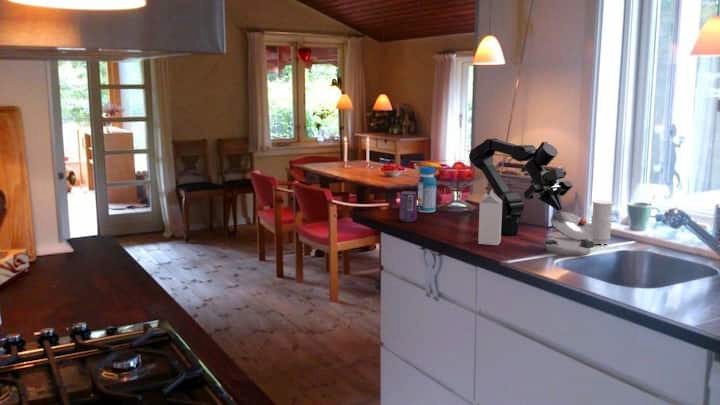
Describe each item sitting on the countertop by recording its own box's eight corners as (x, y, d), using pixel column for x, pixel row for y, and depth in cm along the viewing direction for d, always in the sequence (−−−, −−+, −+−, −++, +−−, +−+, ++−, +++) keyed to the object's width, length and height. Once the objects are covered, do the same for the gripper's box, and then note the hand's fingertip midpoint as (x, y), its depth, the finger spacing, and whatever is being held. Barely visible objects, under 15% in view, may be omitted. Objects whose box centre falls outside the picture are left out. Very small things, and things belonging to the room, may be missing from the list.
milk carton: (500, 241, 233) (502, 189, 229) (498, 245, 226) (500, 192, 223) (481, 239, 235) (482, 188, 232) (478, 244, 228) (479, 191, 225)
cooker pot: (531, 249, 221) (532, 235, 220) (572, 243, 230) (573, 229, 229) (567, 260, 207) (568, 245, 206) (610, 253, 216) (611, 238, 216)
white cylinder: (585, 241, 232) (588, 201, 230) (600, 240, 235) (603, 199, 232) (598, 246, 226) (601, 204, 224) (614, 244, 229) (617, 203, 226)
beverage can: (419, 220, 270) (420, 192, 268) (411, 223, 264) (412, 194, 262) (404, 218, 274) (405, 190, 272) (396, 221, 268) (396, 192, 266)
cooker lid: (542, 216, 219) (545, 210, 217) (572, 212, 226) (575, 206, 224) (570, 243, 209) (573, 237, 208) (600, 238, 216) (603, 232, 215)
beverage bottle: (430, 213, 285) (431, 168, 281) (413, 211, 289) (414, 167, 286) (439, 210, 292) (440, 166, 288) (422, 208, 296) (423, 165, 293)
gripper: (531, 161, 218) (554, 197, 210) (570, 158, 227) (593, 193, 219) (514, 181, 226) (535, 217, 218) (552, 177, 235) (574, 212, 228)
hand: (560, 209), depth 221 cm, fingers closed
